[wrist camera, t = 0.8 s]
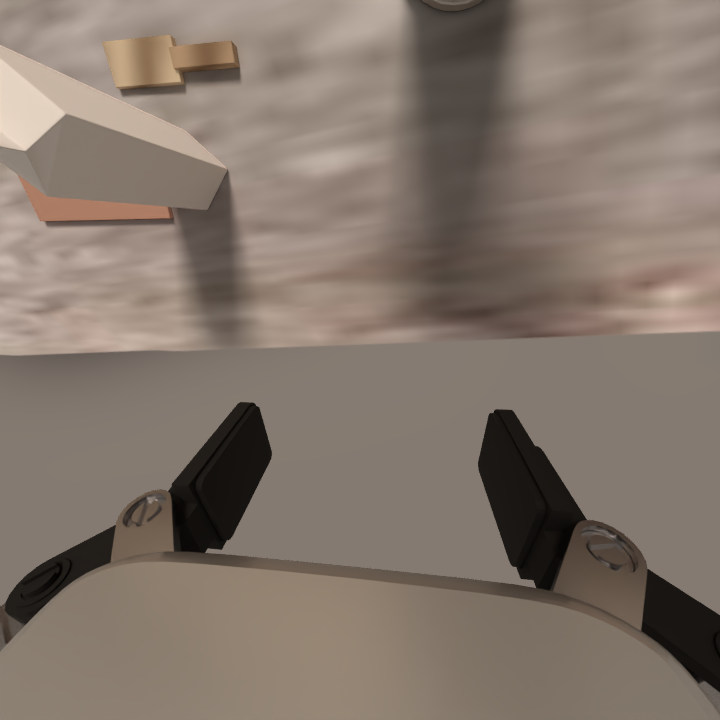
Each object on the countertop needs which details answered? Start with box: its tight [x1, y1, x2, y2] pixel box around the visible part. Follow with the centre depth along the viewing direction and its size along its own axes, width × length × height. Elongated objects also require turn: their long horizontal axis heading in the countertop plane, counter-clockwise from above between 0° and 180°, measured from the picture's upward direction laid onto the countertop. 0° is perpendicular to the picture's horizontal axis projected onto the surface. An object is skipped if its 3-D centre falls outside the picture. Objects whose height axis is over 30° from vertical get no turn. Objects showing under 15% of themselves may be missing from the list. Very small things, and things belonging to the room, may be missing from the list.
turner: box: [102, 35, 239, 89], centre depth 29 cm, size 15×4×1 cm, turn 91°
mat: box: [18, 175, 174, 221], centre depth 35 cm, size 10×20×1 cm, turn 91°
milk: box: [0, 45, 228, 210], centre depth 24 cm, size 6×6×22 cm
